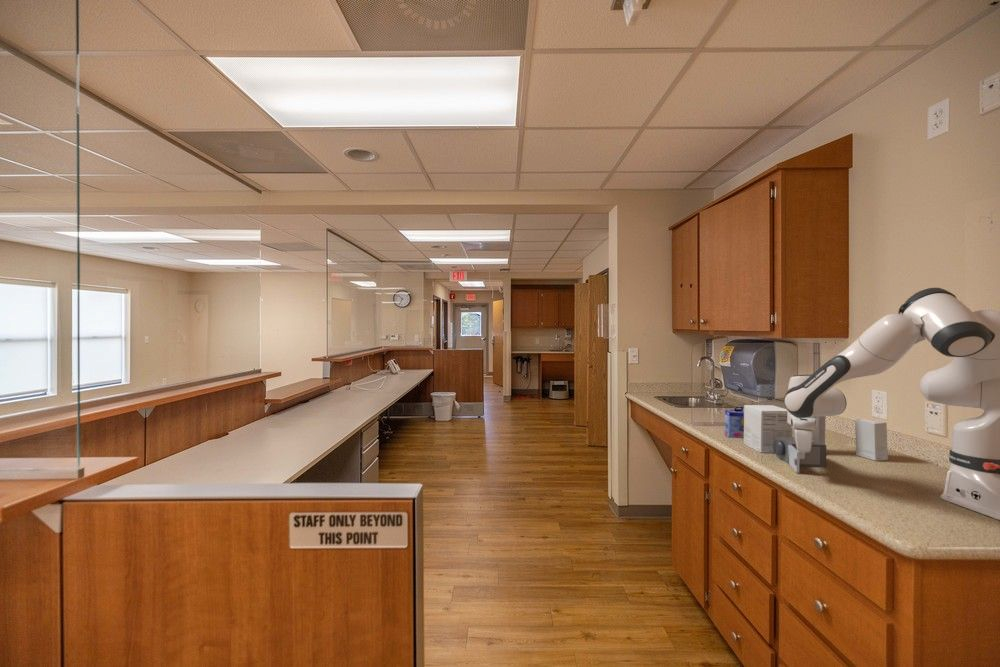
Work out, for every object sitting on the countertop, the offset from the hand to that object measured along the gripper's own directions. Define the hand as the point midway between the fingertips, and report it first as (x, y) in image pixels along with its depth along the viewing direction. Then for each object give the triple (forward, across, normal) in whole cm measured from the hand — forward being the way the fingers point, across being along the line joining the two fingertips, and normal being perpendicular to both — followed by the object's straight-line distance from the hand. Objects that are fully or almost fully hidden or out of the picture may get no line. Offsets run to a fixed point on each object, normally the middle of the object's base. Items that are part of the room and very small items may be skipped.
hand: (801, 457), depth 151 cm
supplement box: (+6, -28, -10) cm, 31 cm away
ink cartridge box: (+6, -44, -22) cm, 49 cm away
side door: (+5, -3, -2) cm, 6 cm away
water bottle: (+6, -34, +6) cm, 35 cm away
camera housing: (+5, -15, +1) cm, 16 cm away
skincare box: (+6, -36, +25) cm, 44 cm away
